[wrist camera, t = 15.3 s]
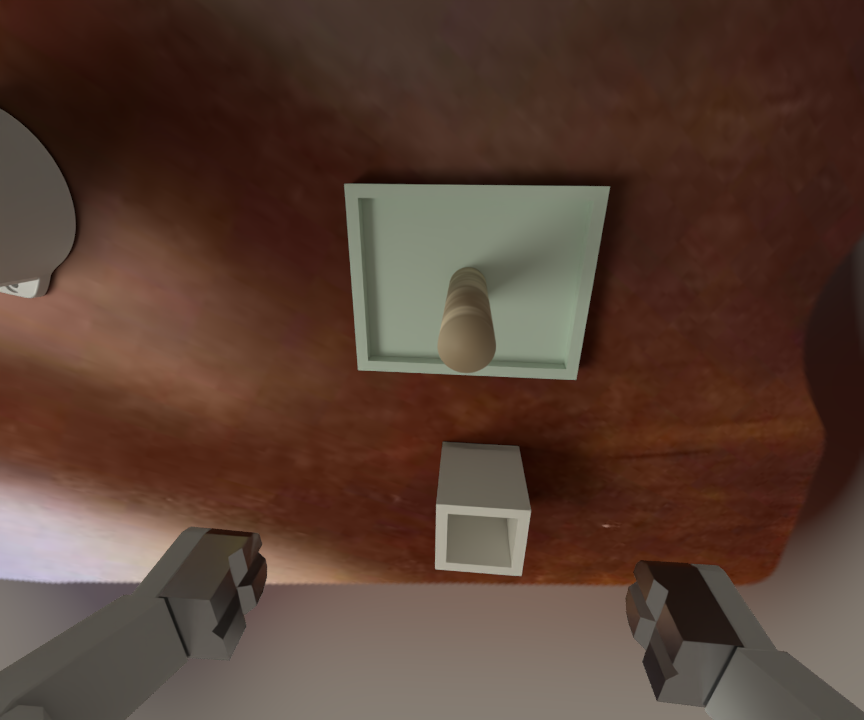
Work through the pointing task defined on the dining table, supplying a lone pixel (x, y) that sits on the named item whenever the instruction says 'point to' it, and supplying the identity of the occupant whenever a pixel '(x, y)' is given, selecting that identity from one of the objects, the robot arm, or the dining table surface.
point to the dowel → (467, 323)
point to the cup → (481, 509)
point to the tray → (483, 250)
